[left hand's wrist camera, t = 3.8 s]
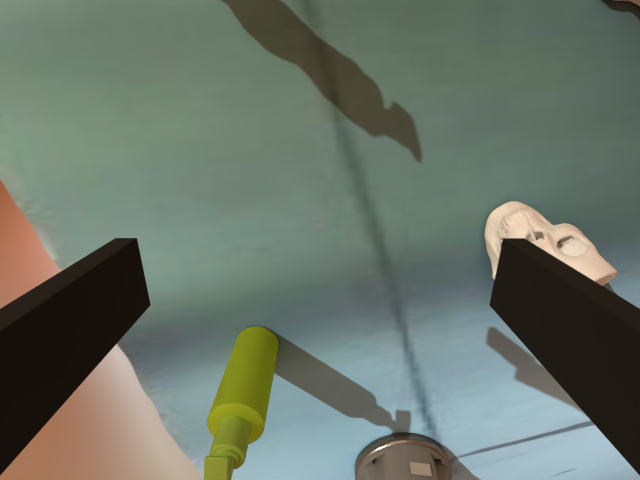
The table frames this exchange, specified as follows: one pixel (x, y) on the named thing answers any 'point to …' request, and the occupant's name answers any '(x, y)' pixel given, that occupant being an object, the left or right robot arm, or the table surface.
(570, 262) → the skull bowl
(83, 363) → the left robot arm
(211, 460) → the soap dispenser
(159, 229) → the table surface
